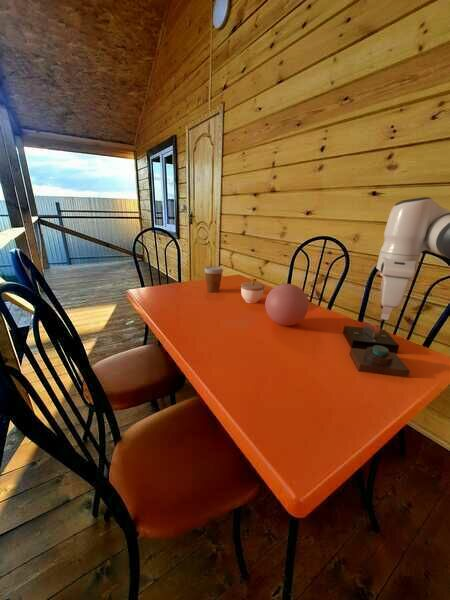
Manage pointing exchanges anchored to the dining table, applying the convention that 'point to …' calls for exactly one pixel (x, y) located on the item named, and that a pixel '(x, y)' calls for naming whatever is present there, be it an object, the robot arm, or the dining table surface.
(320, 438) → the dining table surface
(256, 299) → the trinket box
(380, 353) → the button
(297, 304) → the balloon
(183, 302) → the dining table surface
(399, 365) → the button block
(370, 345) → the panel
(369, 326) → the knob
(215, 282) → the disposable coffee cup
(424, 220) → the robot arm
